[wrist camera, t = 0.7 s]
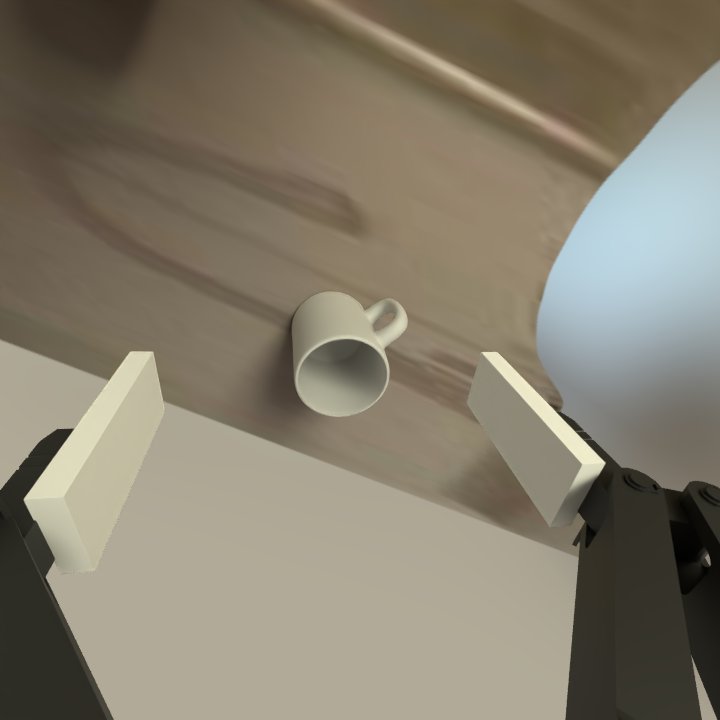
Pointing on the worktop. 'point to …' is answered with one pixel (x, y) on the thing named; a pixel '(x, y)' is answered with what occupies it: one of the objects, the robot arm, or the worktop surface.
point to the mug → (342, 352)
